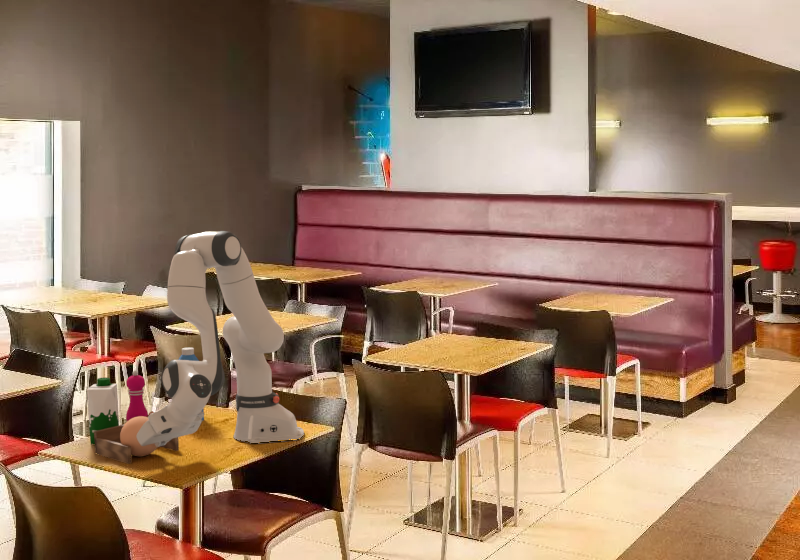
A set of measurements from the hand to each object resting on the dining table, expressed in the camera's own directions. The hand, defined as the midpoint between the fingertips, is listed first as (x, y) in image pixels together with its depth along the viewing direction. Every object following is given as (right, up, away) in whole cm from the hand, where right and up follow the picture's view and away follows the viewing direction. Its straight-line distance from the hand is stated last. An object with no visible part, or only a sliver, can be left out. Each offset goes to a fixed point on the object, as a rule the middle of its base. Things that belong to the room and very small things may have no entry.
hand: (159, 444), depth 311 cm
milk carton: (-22, -3, +21) cm, 30 cm away
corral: (-8, -4, +8) cm, 12 cm away
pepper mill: (-15, -1, +35) cm, 38 cm away
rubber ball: (-6, +2, +3) cm, 7 cm away
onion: (-9, -2, +28) cm, 29 cm away
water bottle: (0, +1, +47) cm, 47 cm away
